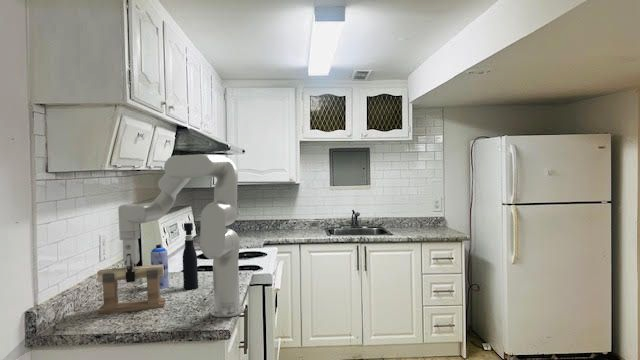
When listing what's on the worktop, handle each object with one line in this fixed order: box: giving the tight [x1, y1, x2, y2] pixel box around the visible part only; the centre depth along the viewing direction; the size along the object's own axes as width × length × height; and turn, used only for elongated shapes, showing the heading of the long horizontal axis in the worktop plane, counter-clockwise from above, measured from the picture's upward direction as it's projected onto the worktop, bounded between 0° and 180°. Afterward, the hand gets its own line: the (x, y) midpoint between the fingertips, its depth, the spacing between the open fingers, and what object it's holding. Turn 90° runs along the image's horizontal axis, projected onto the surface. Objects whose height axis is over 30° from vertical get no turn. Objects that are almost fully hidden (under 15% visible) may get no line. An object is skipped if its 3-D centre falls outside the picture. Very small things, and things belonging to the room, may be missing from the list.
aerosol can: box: [150, 243, 170, 290], centre depth 211 cm, size 8×8×20 cm
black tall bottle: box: [182, 222, 199, 291], centre depth 207 cm, size 6×6×30 cm
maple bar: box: [97, 264, 164, 283], centre depth 180 cm, size 4×24×4 cm, turn 105°
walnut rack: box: [97, 270, 166, 315], centre depth 180 cm, size 8×24×15 cm, turn 105°
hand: (131, 279), depth 180 cm, fingers open, 5 cm apart
